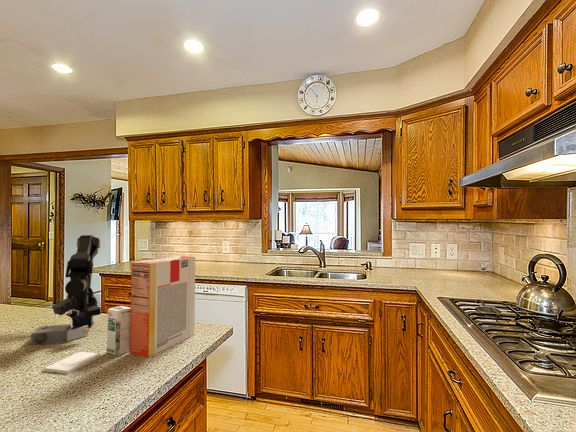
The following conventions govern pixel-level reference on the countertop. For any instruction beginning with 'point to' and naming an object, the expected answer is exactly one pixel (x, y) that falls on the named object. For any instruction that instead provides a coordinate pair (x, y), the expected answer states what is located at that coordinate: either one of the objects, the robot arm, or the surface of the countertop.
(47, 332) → the camera block
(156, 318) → the cereal box
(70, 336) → the side door
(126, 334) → the syrup box
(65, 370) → the external hard drive
